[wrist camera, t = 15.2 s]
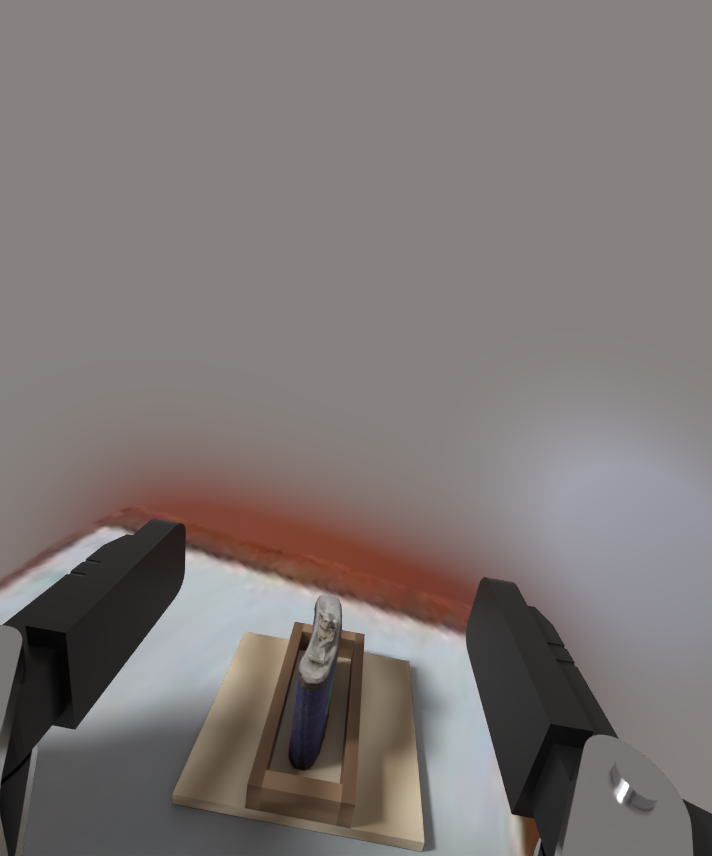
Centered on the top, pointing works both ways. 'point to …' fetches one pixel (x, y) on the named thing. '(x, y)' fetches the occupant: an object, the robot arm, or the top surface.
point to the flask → (315, 684)
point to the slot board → (340, 753)
